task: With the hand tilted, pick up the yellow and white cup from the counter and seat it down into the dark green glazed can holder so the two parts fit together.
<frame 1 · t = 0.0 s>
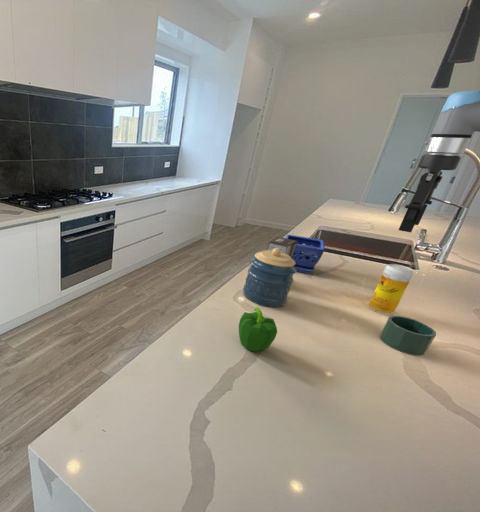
hand: (408, 227, 91), 25 cm above the counter, tool pointing down, fingers open, 13 cm apart
yellow and white cup: (379, 310, 95), on the counter
bell pepper: (252, 345, 76), on the counter
can holder: (401, 344, 79), on the counter
canister: (263, 297, 100), on the counter
coffee box: (271, 281, 111), on the counter
flower pot: (295, 268, 123), on the counter
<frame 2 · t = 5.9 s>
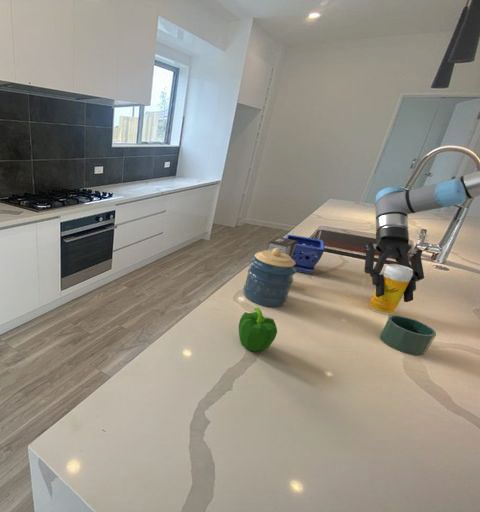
hand: (394, 298, 89), 6 cm above the counter, tool tilted 45°, fingers closed on yellow and white cup, 6 cm apart
yellow and white cup: (380, 310, 95), on the counter, touching gripper
everything else where it was.
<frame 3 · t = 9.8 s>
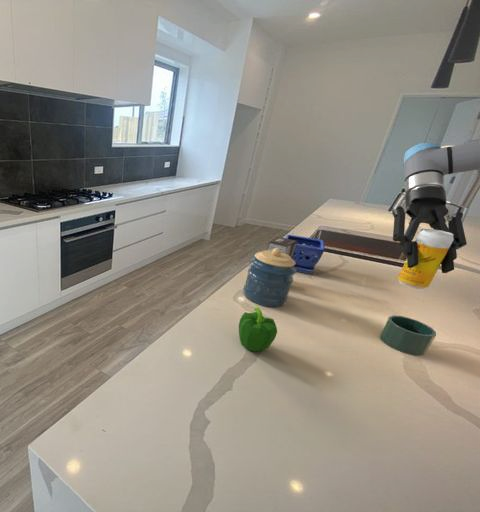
hand: (430, 268, 75), 20 cm above the counter, tool tilted 45°, fingers closed on yellow and white cup, 6 cm apart
yellow and white cup: (411, 285, 81), point 14 cm above the counter, touching gripper
everything else where it was.
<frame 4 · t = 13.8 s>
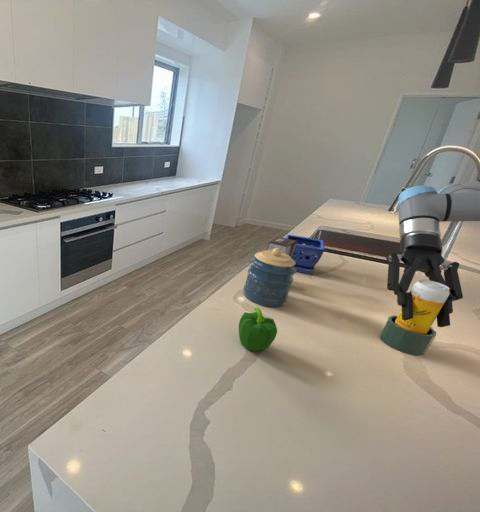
hand: (425, 322, 72), 9 cm above the counter, tool tilted 45°, fingers closed on yellow and white cup, 6 cm apart
yellow and white cup: (405, 335, 78), point 3 cm above the counter, touching gripper
everything else where it was.
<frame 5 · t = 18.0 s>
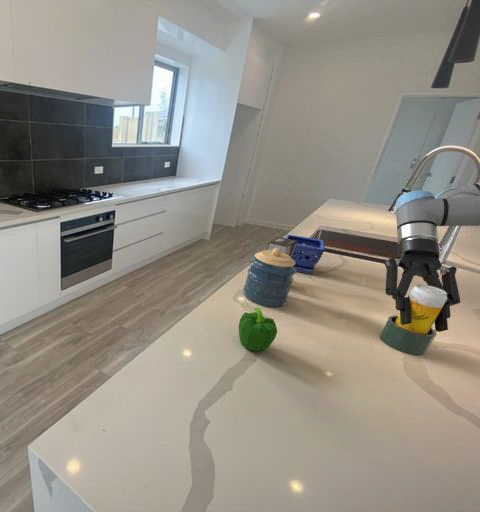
hand: (423, 326, 73), 8 cm above the counter, tool tilted 45°, fingers closed on yellow and white cup, 6 cm apart
yellow and white cup: (404, 339, 78), point 1 cm above the counter, touching gripper
everything else where it was.
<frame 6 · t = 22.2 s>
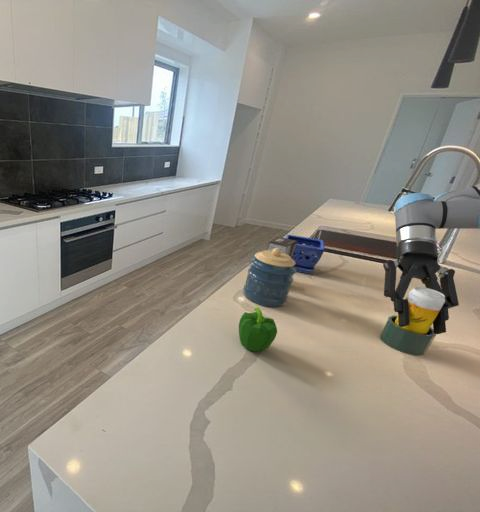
hand: (421, 328, 73), 7 cm above the counter, tool tilted 45°, fingers closed on yellow and white cup, 6 cm apart
yellow and white cup: (402, 342, 79), point 1 cm above the counter, touching gripper
everything else where it was.
when the fingers open (9 cm above the counter, at t = 22.8 s): yellow and white cup drops 2 cm, resting on can holder.
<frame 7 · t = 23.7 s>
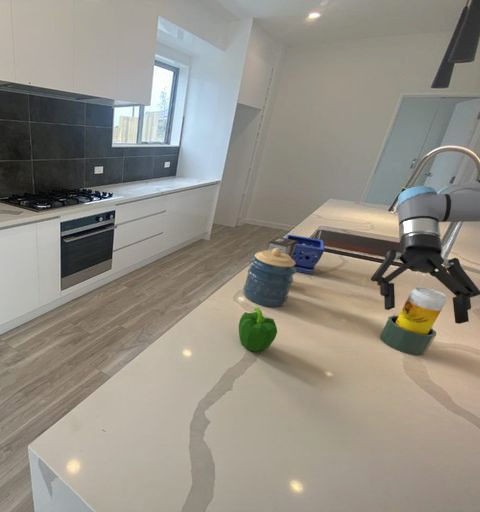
hand: (424, 315, 73), 10 cm above the counter, tool tilted 45°, fingers open, 13 cm apart
yellow and white cup: (403, 342, 79), point 1 cm above the counter, touching can holder
everything else where it was.
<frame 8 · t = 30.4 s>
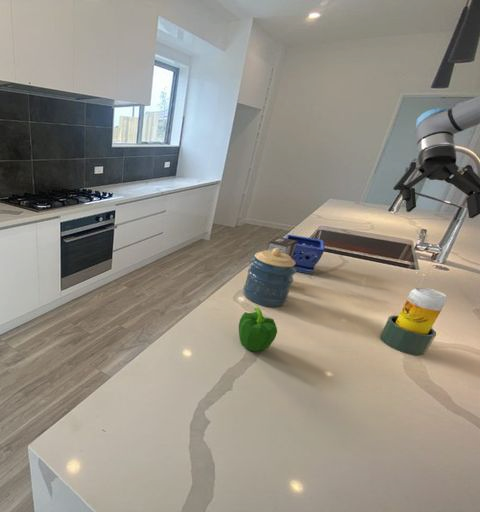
hand: (442, 212, 84), 32 cm above the counter, tool tilted 45°, fingers open, 13 cm apart
nothing on the counter moved.
at the end: yellow and white cup 0.2 cm off-centre in the can holder, point 0.6 cm above the can holder's base; yellow and white cup tilted 0°; the gripper is holding nothing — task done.
